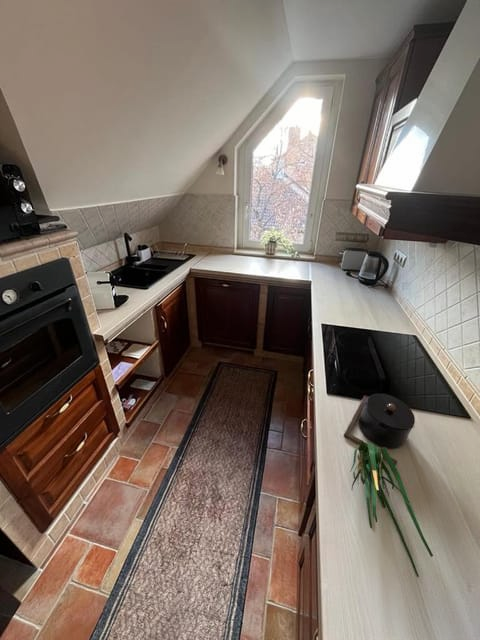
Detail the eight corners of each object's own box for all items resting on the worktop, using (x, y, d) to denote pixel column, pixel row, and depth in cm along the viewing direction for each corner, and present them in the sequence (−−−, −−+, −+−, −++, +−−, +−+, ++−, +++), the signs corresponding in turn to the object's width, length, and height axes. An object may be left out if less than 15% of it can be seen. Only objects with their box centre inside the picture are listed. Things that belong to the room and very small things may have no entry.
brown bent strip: (408, 419, 88) (410, 416, 88) (395, 466, 74) (396, 464, 73) (363, 397, 97) (364, 395, 96) (343, 435, 82) (344, 433, 81)
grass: (335, 465, 79) (330, 545, 56) (350, 426, 75) (352, 496, 52) (398, 494, 73) (422, 596, 50) (419, 454, 69) (455, 546, 46)
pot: (409, 426, 86) (423, 401, 80) (397, 460, 75) (412, 435, 69) (367, 404, 94) (376, 380, 88) (350, 432, 83) (360, 407, 77)
